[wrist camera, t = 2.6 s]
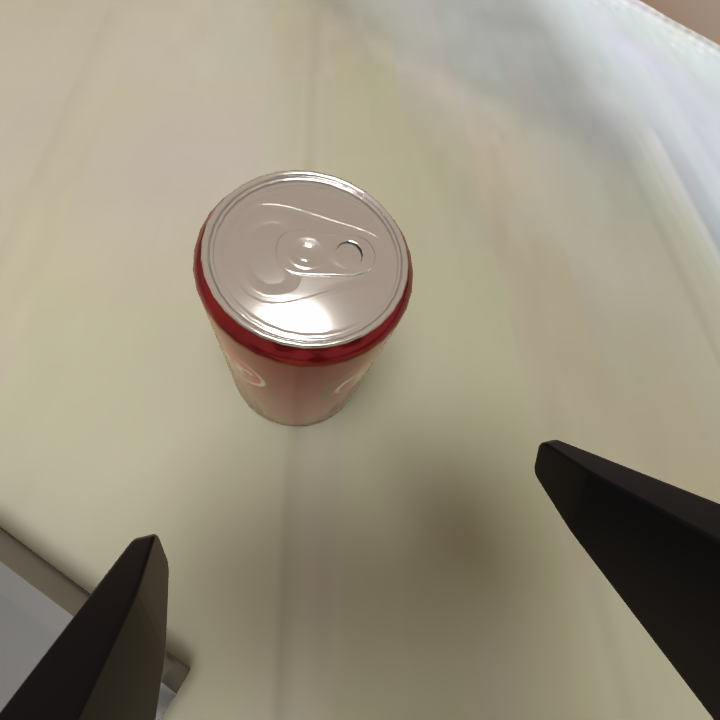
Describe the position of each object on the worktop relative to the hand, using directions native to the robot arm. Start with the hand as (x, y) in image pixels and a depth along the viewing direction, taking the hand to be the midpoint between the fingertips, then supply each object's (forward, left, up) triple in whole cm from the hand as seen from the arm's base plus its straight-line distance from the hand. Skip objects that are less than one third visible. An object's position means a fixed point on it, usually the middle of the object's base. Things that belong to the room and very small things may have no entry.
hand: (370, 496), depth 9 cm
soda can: (+6, -4, -14) cm, 16 cm away
